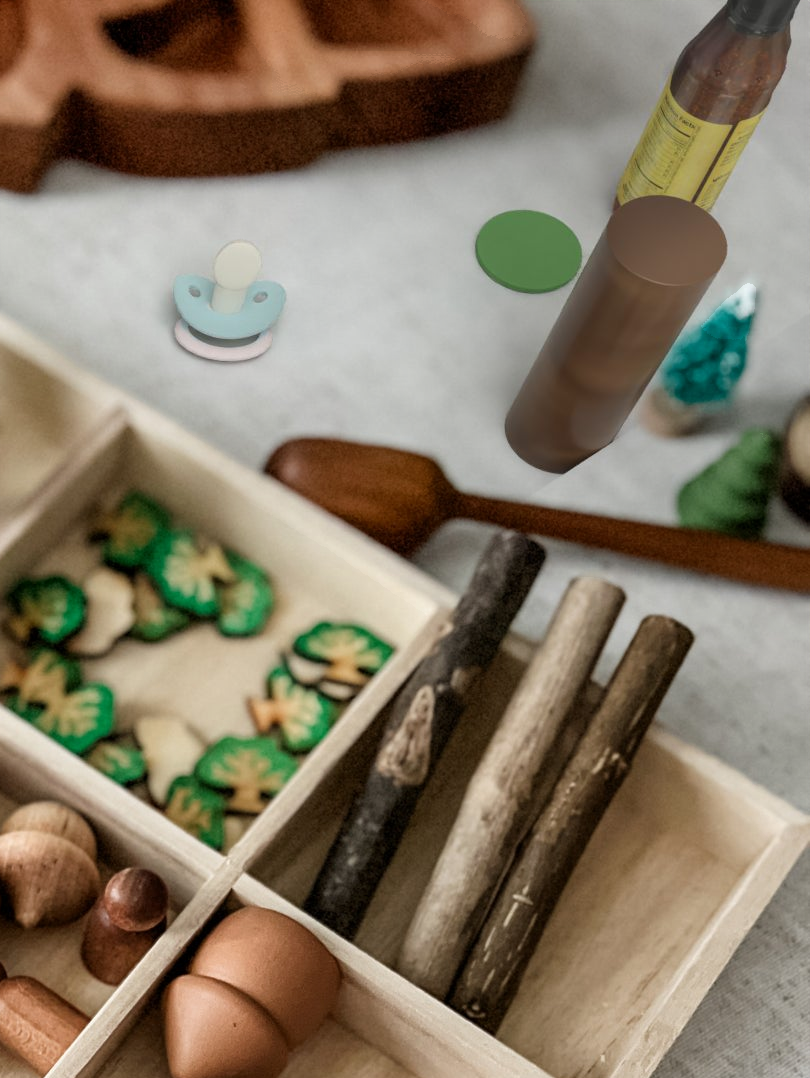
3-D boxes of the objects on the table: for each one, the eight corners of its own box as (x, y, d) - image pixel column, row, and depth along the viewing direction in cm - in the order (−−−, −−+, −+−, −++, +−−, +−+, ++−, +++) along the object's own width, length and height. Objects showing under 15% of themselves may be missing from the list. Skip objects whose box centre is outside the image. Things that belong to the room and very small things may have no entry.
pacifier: (275, 372, 111) (279, 299, 113) (298, 304, 105) (301, 228, 107) (163, 361, 111) (169, 289, 113) (180, 293, 105) (186, 218, 107)
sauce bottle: (686, 180, 116) (842, -97, 98) (709, 249, 114) (873, -21, 96) (592, 185, 116) (730, -91, 98) (613, 255, 114) (759, -15, 96)
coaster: (602, 262, 114) (604, 257, 113) (526, 309, 112) (528, 305, 112) (528, 198, 116) (530, 194, 116) (453, 244, 114) (455, 239, 114)
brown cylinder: (630, 441, 108) (753, 249, 93) (555, 491, 107) (668, 303, 92) (557, 375, 110) (666, 176, 95) (483, 423, 109) (581, 229, 94)
